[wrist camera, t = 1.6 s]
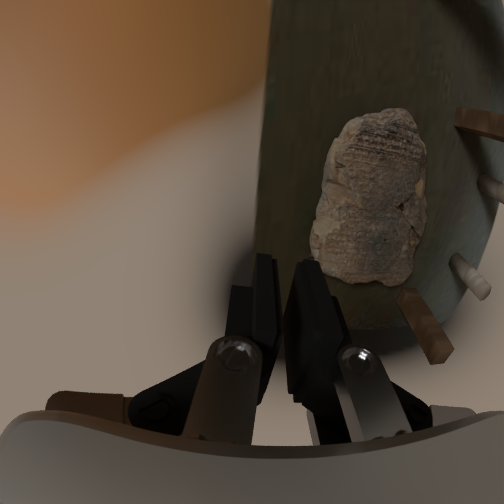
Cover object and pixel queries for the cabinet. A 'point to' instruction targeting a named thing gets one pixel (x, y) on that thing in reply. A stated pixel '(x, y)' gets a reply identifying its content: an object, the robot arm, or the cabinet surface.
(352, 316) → the cabinet surface
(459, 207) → the cabinet surface
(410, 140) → the clay tablet
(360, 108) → the cabinet surface
